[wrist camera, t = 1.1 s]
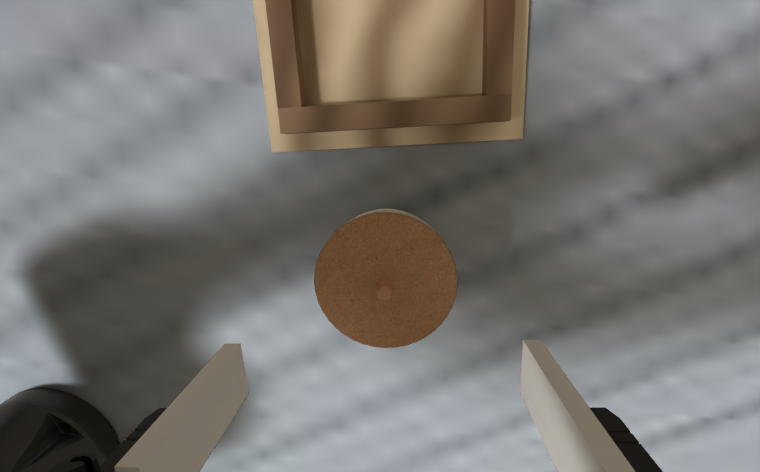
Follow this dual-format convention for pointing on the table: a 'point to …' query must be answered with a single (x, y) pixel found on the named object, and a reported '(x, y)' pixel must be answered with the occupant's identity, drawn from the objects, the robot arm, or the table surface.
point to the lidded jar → (385, 279)
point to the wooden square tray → (391, 71)
